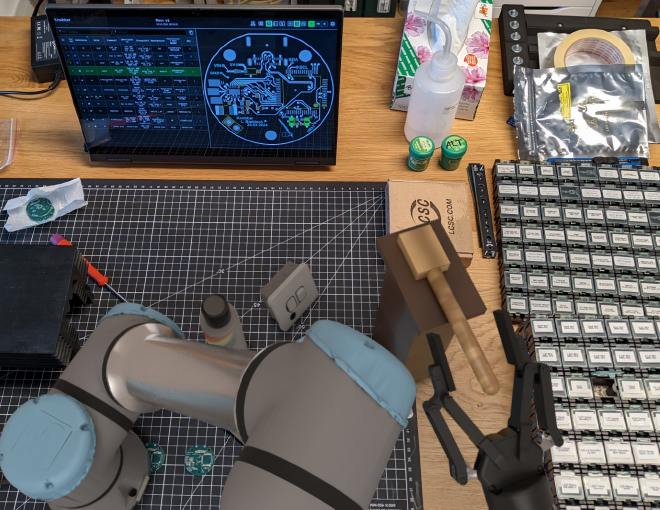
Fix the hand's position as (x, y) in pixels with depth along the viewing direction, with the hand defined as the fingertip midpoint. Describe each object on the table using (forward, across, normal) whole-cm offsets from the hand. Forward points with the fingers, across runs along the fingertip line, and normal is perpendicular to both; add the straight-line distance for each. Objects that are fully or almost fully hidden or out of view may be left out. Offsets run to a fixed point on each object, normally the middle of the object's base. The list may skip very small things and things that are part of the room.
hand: (466, 323), depth 71 cm
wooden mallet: (+1, 0, -4) cm, 5 cm away
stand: (-9, 0, -33) cm, 34 cm away
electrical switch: (+4, -15, -41) cm, 44 cm away
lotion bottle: (0, -27, -38) cm, 47 cm away
